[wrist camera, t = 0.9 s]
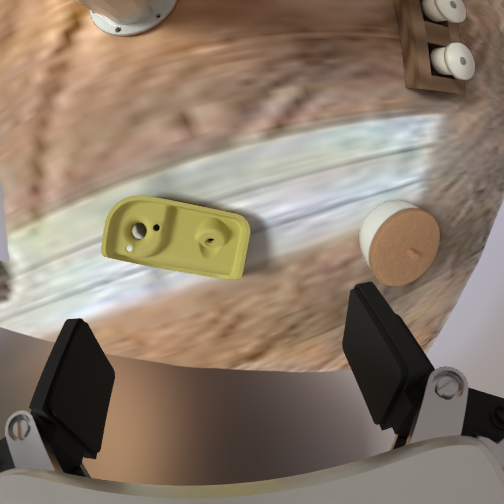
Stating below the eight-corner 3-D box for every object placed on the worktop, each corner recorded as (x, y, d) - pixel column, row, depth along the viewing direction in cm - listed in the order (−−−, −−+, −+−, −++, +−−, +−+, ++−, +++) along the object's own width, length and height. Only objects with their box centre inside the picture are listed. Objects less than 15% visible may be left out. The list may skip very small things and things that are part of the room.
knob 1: (411, 0, 26) (432, -7, 21) (430, -10, 24) (451, -16, 20) (432, 30, 28) (454, 27, 23) (450, 18, 27) (471, 15, 22)
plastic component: (253, 217, 42) (240, 287, 42) (239, 219, 49) (228, 279, 49) (112, 189, 36) (98, 263, 36) (119, 195, 43) (107, 258, 43)
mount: (450, 92, 36) (465, 94, 33) (406, 87, 36) (421, 88, 33) (424, -45, 23) (436, -50, 19) (376, -59, 22) (388, -67, 19)
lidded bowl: (419, 198, 45) (458, 224, 36) (395, 260, 51) (426, 295, 42) (360, 182, 43) (397, 208, 34) (338, 253, 49) (364, 292, 39)
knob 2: (421, 53, 30) (444, 51, 26) (440, 39, 29) (463, 37, 24) (439, 84, 33) (462, 86, 28) (457, 69, 31) (480, 70, 26)
